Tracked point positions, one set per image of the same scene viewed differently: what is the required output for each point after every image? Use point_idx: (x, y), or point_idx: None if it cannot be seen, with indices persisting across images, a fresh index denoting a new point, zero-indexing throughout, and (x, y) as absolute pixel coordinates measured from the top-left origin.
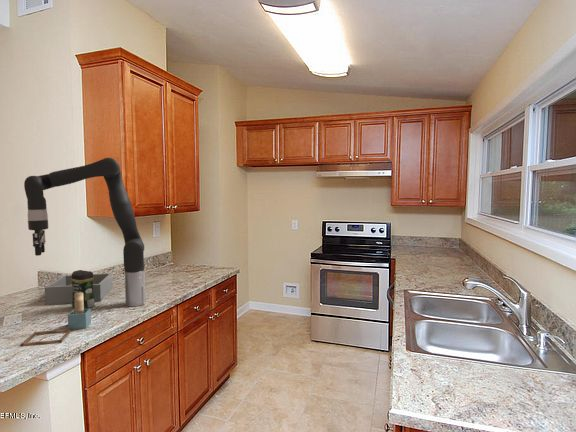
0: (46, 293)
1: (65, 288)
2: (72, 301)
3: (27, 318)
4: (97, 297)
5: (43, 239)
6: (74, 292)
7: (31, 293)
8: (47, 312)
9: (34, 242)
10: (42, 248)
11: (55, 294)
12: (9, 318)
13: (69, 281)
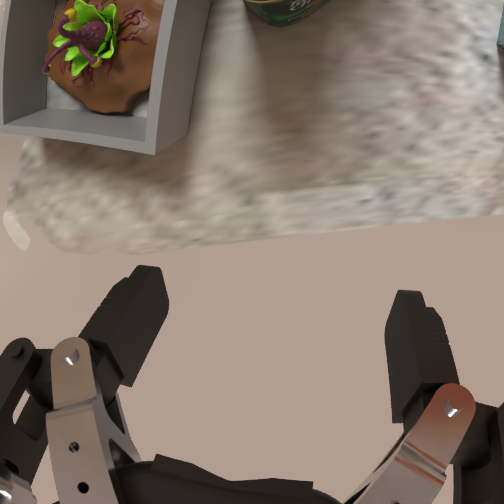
0: (168, 140)
1: (170, 62)
2: (288, 21)
3: (342, 171)
4: None
5: (107, 446)
6: (310, 2)
7: (53, 206)
8: (298, 112)
9: (480, 488)
10: (139, 316)
11: (176, 103)
12: (309, 222)
13: (20, 105)
